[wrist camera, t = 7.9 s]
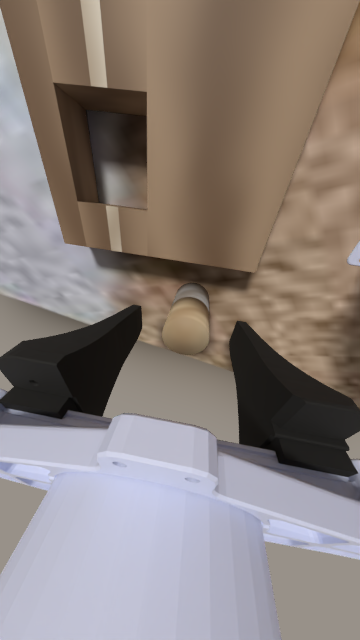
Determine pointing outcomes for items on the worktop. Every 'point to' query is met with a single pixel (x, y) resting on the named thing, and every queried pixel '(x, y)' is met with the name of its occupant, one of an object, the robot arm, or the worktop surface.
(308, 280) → the worktop surface
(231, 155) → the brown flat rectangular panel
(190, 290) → the peg
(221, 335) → the worktop surface
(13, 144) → the worktop surface
